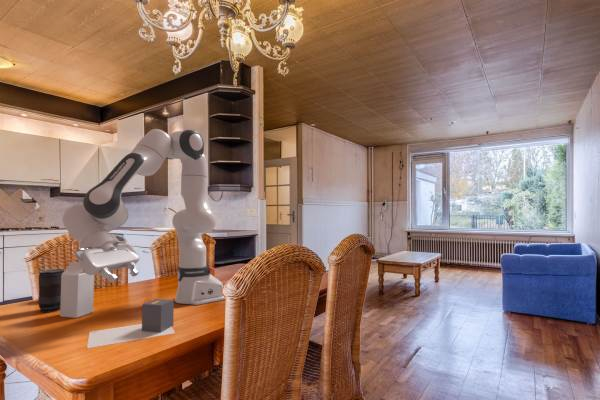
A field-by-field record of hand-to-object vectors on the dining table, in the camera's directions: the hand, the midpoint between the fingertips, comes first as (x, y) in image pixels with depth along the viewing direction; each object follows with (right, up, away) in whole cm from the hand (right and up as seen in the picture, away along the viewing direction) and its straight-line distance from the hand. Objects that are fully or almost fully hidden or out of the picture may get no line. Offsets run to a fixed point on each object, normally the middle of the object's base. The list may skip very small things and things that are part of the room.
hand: (125, 277), depth 104 cm
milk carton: (-26, -17, +16) cm, 35 cm away
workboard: (+5, -16, -7) cm, 18 cm away
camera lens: (-40, -18, +21) cm, 49 cm away
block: (+11, -15, -3) cm, 19 cm away
